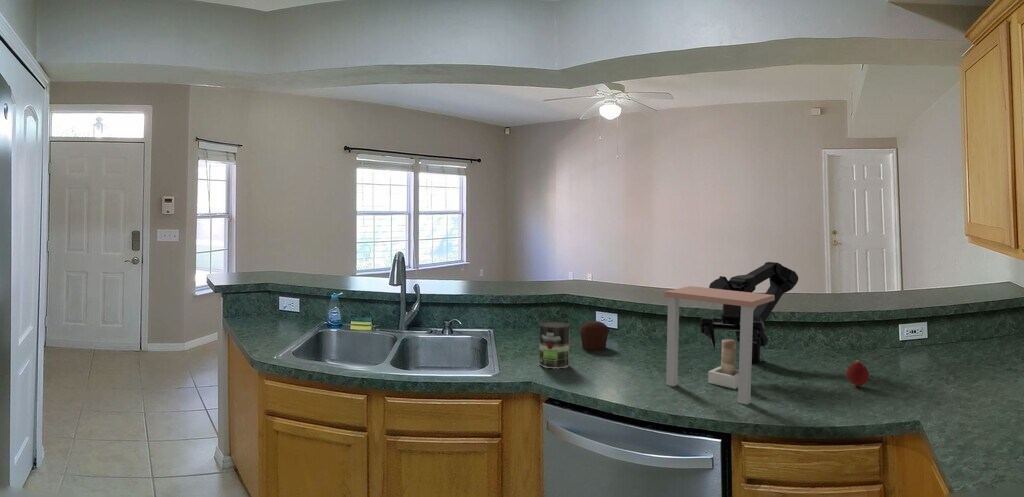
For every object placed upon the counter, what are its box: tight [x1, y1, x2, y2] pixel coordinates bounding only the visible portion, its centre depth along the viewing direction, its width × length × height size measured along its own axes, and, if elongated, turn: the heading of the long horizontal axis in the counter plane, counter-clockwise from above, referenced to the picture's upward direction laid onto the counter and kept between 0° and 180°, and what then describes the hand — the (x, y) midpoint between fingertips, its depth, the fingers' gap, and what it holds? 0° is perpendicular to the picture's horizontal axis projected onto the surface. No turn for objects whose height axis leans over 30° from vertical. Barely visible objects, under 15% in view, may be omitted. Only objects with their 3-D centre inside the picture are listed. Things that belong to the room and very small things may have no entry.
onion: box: [846, 359, 870, 387], centre depth 170 cm, size 6×6×8 cm
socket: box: [707, 365, 739, 390], centre depth 174 cm, size 8×8×4 cm
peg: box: [720, 338, 737, 376], centre depth 173 cm, size 4×4×13 cm
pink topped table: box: [663, 285, 775, 405], centre depth 167 cm, size 16×26×28 cm, turn 45°
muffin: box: [578, 320, 611, 352], centre depth 216 cm, size 12×11×10 cm
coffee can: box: [539, 321, 571, 369], centre depth 192 cm, size 10×10×14 cm
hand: (729, 350), depth 180 cm, fingers open, 9 cm apart
